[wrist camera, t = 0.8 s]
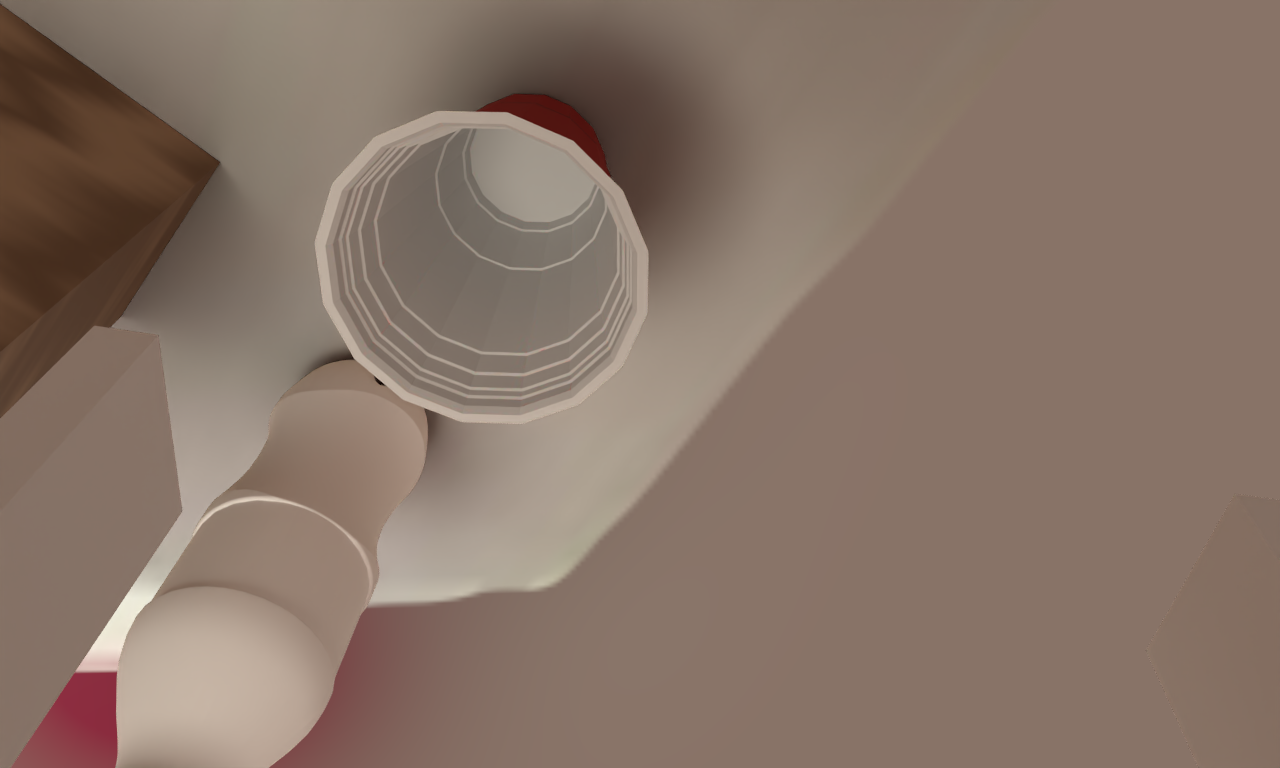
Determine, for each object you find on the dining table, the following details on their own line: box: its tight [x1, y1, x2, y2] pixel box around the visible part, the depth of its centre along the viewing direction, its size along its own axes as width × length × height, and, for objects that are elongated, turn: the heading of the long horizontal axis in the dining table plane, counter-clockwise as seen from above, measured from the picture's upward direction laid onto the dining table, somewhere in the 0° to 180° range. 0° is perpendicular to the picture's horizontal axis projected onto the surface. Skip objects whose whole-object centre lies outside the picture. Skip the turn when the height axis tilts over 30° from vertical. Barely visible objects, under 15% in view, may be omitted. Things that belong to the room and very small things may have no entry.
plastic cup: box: [315, 94, 648, 424], centre depth 39 cm, size 11×11×12 cm
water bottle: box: [115, 360, 428, 768], centre depth 40 cm, size 7×7×25 cm
